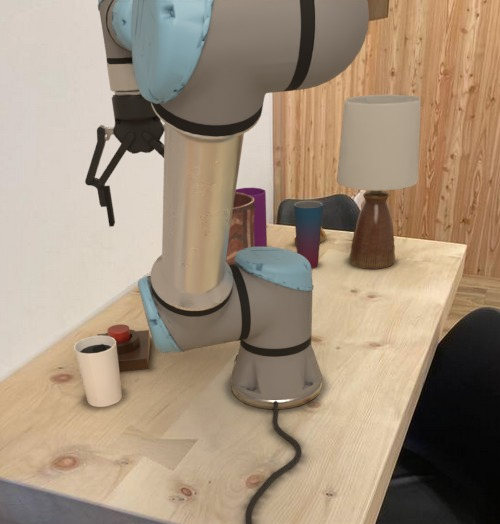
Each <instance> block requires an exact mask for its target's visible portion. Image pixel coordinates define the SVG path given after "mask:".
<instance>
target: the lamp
mask: <svg viewBox="0 0 500 524" xmlns="http://www.w3.org/2000/svg"><path fill="white" fill-rule="evenodd" d="M421 101H422V99H421V97H419V96H416V95H408V94H407V95H406V94H368V95H359V96H352V97H347V98H345V99H344V103H343V112H342V113H343V114H342V122H341V123H342V124H341V135H340V143H339V144H340V145H339V155H338V165H337V174H336V175H337V176H336V182H337V184H338V185H339V186H342V187H345V188H348V189H354V190H360V191H365V192H364V193H363V194H362V196H363V198H364V204H363V205H362V207H361V209H360V212H359V214H358V216H357V219H356V222H355V226H354V230H353V234H352V235H353V236H352V239H351V245H350V251H349V263H351V265H353V266H354V267H357V268H361V269H366V270H379V269H385V268H388V267H390V266H391V267H392V266H393V264H394V263H395V260H396V255H395V254H396V253H395V250H396V248H395V247H396V245H395V236H394V234H395V233H394V225H393V220H392V219H393V218H392V215H391V211H390V209H389V205H388V203H387V200H388V198H389V197H390V194H389V192H387V191H394V190H402V189H407V188H411V187H413V186H415V185H417V184H418V183H419V165H420V136H421V135H420V133H421V132H420V131H421V106H422V102H421Z"/></svg>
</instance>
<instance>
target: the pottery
mask: <svg viewBox="0 0 500 524" xmlns="http://www.w3.org/2000/svg"><path fill="white" fill-rule="evenodd" d="M254 211H255V198H253V197H252V196H250V195H247V194H243V193H237V192H235V199H234V206H233V213H232V220H231V227H230V233H229V240H228V247H227V254H226V262H227V264H228V265H230V264H235V257H236V254H237V252H238V251H240V250H243V249H244V248H249V247H255V246H254Z"/></svg>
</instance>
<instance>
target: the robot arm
mask: <svg viewBox="0 0 500 524" xmlns="http://www.w3.org/2000/svg"><path fill="white" fill-rule="evenodd" d="M97 2H98V3H97V9H98V12H99V16H100V23H101V29H102V37H103V43H104V50H105V58H106V68H107V77H108V81H109V90H110V91H111V92H114V94H112V97H111V102H112V104H111V105H112V111H113V117H114V126H113V127H112V126H105V125H104V124H103V125H102V124H101V125H99V126H98V127H97V128H96V144H95V148H94V151H93V153H92V158H91V161H90V164H89V167H88V171H87V174H86V177H85V180H84V183H85V184H86V186H90V187H94V188H95V189H96V191H97V195H98V201H99V206H100V207H101V208H106V214H107V220H108V226H109V228H112V227H115V224H116V219H115V213H114V205H113V200H112V193H111V186H110V185H106V183H107V181H109V178H110V177H111V176H112V174H113V172H114V171H115V169H116V167H118V164H119V163H120V162H121V160H122V158H123V157H124V155H125V154H126V152H128V153H131V154H134V155H135V154H140V153H145V154H150V153H151V152H153V151H156V152H157V153H158V154H159V156H161V157H162V158H163V184H162V185H163V189H162V192H163V193H162V237H161V239H162V240H161V242H162V243H161V255H160V256H158V257H157V258H156V260H154V263H153V264H152V266H151V271H150V275H145V277H142V278H139V279H138V282H137V288H138V291H139V296H140V300H141V305H142V307H143V311H144V315H145V319H146V322H147V325H148V330H149V333H150V337H151V339H152V342H153V345H154V347H155V349H156V351H158V352H159V353H161V354H171V353H185V352H188V351H193V350H197V349H203V348H208V347H214V346H218V345H223V344H227V343H232V342H238V341H239V348H238V352H237V354H236V355H235V359H234V362H233V363H234V364H233V365H234V366H233V369H232V373H231V377H230V383H231V391H232V393H233V395H234V396H235V397H236V399H238V400H239V401H240V402H242V403H244V404H246V405H248V406H251V407H255V408H259V409H266V410H273V412H272V413H273V415H272V425H273V428H274V429H275V431H276V432H277V433H278V434H279V436H281V437H282V438H284V439H285V440H287V441H288V442H289V443H291V444H292V445H293V446H294V448H295V451H296V453H295V456H294V457H293V459H291V460H290V461H289V462H287V464H285V465H283V466H282V467H281V468H279V469H278V470H276V471H274V472H273V473H272V474H270V476H269V477H268V478H267V479H265V481H264V482H263V483H262V485H261V486H260V487H259V488H258V490H257V491H256V492H255V493H254V495H253V496H252V497H251V499H250V501H249V503H248V505H247V508H246V511H245V524H253V522H252V515H253V514H252V512H253V509H254V507H255V505H256V504H257V501H258V500H259V499H260V497H261V496H262V495H263V493H264V492H265V491H266V490H267V489H268V488H269V486H270V485H271V484H272V482H274V481H275V480H276V479H277V478H278V477H279V476H281V475H282V474H284V473H285V472H287V471H289V470H290V469H292V468H293V467H294V466H295V465H296V464H297V463H298V462H299V460H300V458H301V456H302V448H301V447H302V446H301V445H300V443H299V442H298V441H297V440H296V439H295V438H294V437H292V436H290V435H289V434H288V433H286V432H285V431H284V430H282V428H281V427H280V426H279V424H278V418H279V410H283V409H292V408H295V407H299V406H303V405H305V404H307V403H309V402H311V401H313V400H314V399H315V398H316V397H317V396H319V394H320V393H321V390H322V385H323V377H322V376H323V375H322V372H321V369H320V368H321V367H320V366H319V362H318V359H317V357H316V354H315V351H314V348H313V345H312V330H313V327H312V326H313V291H314V284H313V272H312V271H313V270H312V269H313V268H311V265H310V263H309V261H308V260H307V259H306V258H305V257H304V256H302V255H300V254H298V253H297V251H294V250H289V249H287V248H286V249H285V248H281V247H274V246H267V247H249V248H244V249H243V250H240V251H238V252H237V254H236V257H235V264H230V265H228V264H227V262H226V254H227V247H228V240H229V233H230V227H231V220H232V213H233V206H234V199H235V192H236V189H237V185H238V178H239V172H240V171H239V170H240V164H241V157H242V149H243V143H244V136H245V133H247V132H249V131H250V130H252V129H253V128H254V127H255V126H256V125H257V124H258V122H259V120H260V118H261V116H262V113H263V109H264V101H265V97H266V94H272V93H273V94H274V93H283V92H292V91H301V90H307V89H311V88H317V87H319V86H321V85H323V84H326V83H328V82H330V81H332V80H334V79H336V77H338V76H339V75H341V74H342V73H343V72H344V71H346V70H347V69H348V67H350V65H352V64H353V62H354V61H355V59H356V58H357V57H358V55H359V53H360V52H361V50H362V48H363V45H364V44H365V40H366V37H367V34H368V30H369V22H370V11H369V10H370V9H369V3H368V0H97ZM162 122H163V123H164V124H163V123H162ZM112 135H113V136H114V137H115V138H116V139H117V141H118V142H119V143H120V145H119V147H118V149H117V150H116V152H115V153H114V155H113V156H112V158H111V159H110V161H109V163H108V164H107V166H106V167H105V169H104V170H103V172H102V174H101V175H100V177H99V178H98V177H96V175H97V172H98V168H99V166H100V162H101V159H102V156H103V153H104V150H105V146H106V142H108V141H109V140H110V139H111V136H112ZM163 135H164V140H163V141H164V142H162V141H161V138H162V136H163Z"/></svg>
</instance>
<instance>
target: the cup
mask: <svg viewBox="0 0 500 524" xmlns="http://www.w3.org/2000/svg"><path fill="white" fill-rule="evenodd" d="M293 208H294V223H295V224H294V225H295V237H296V244H295V245H296V253H298V254H300V255H302V256H304V257H305V258H306V259H307V260H308V261H309V263H310V265H311V268H312V269H315V268H317V267H318V266H319V257H320V256H319V255H320V244H321V242H320V233H321V227H322V222H323V221H322V220H323V219H322V218H323V208H324V203H323V202H322V201H319V200H312V199H311V200H310V199H309V200H300V201H297V202H294V204H293Z"/></svg>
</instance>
